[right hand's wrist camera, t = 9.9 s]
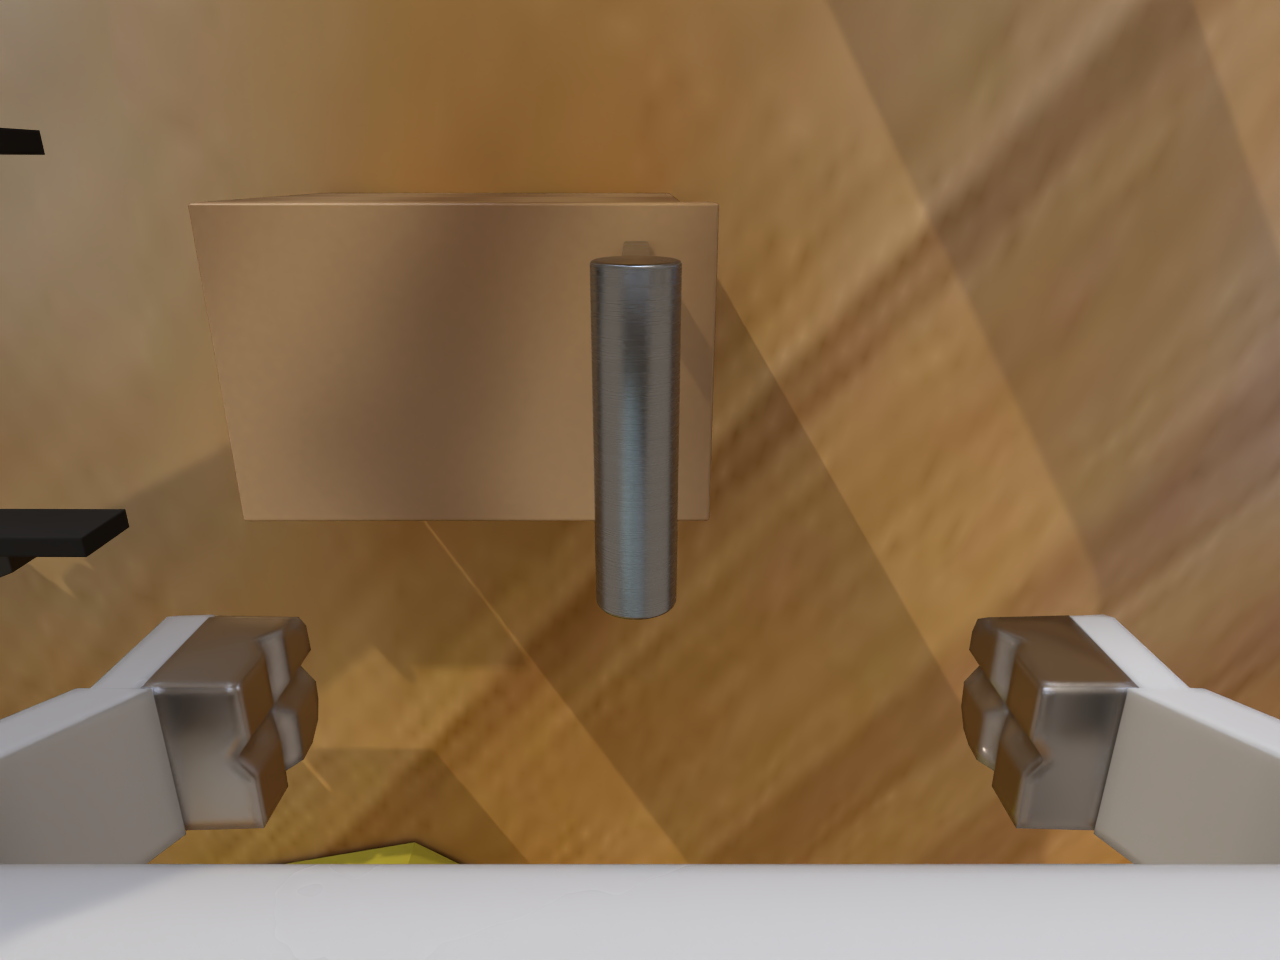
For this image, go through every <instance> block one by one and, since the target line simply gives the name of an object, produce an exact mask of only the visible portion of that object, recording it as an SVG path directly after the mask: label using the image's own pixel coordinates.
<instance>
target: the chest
mask: <svg viewBox="0 0 1280 960" xmlns="http://www.w3.org/2000/svg"><path fill="white" fill-rule="evenodd" d="M208 202H680V201H679V200H678V199H676V198H675V197H673V196H672V195H671V194H669V193H318V194H304V195H290V196H276V197H263V198H249V199H235V200H221V201H208Z"/></svg>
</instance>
